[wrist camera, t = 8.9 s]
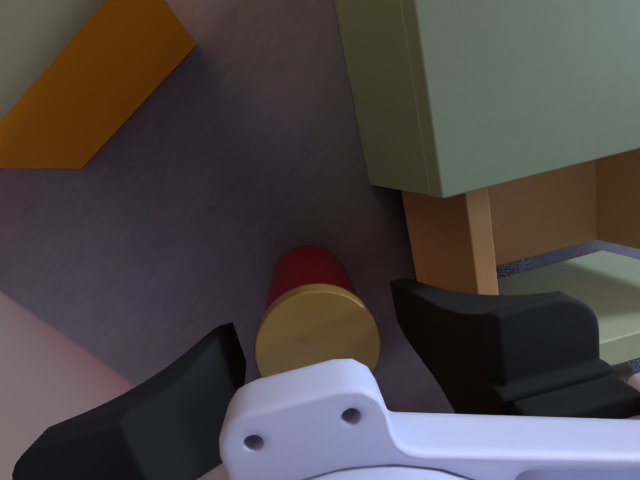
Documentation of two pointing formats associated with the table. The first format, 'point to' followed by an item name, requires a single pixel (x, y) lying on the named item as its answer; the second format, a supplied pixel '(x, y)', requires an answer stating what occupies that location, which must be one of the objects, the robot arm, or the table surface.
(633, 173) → the drawer
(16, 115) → the orange juice
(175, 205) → the table surface
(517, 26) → the cabinet
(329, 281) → the tea tin
